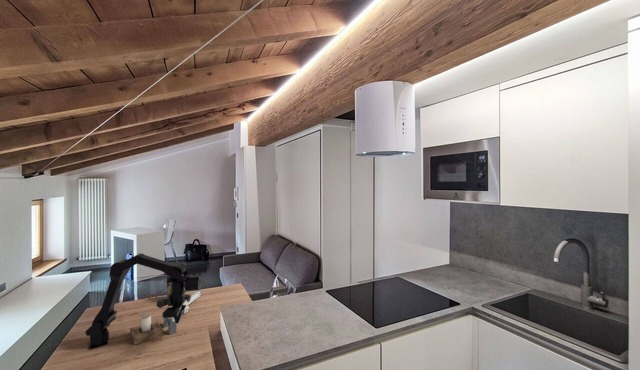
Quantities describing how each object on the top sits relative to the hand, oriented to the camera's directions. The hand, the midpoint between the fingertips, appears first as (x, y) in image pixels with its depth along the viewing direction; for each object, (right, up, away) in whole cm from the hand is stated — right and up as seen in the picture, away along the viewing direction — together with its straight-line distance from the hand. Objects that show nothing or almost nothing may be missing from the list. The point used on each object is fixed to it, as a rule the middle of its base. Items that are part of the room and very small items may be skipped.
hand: (177, 323), depth 133 cm
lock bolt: (-5, -1, +6) cm, 8 cm away
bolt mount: (-9, -8, +10) cm, 15 cm away
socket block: (-17, -8, +4) cm, 19 cm away
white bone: (-11, -8, +37) cm, 40 cm away
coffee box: (-23, -7, +42) cm, 48 cm away
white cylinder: (-17, -8, +4) cm, 20 cm away
